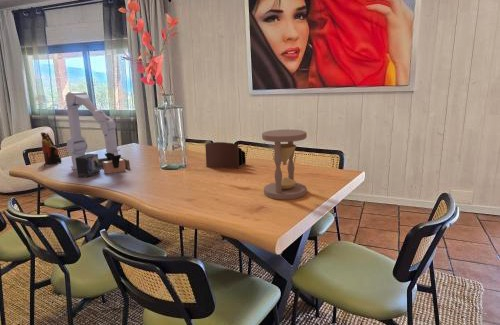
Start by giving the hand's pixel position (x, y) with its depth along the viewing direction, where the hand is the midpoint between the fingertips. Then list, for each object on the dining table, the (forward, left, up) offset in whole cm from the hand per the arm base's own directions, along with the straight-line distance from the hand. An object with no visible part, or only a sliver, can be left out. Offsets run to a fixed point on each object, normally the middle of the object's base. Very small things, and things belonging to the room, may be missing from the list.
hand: (114, 166), depth 188 cm
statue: (-53, -23, -3) cm, 58 cm away
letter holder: (+35, +50, -3) cm, 61 cm away
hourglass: (+92, +41, -3) cm, 101 cm away
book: (0, 0, -3) cm, 3 cm away
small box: (-3, -13, -3) cm, 13 cm away
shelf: (-8, 0, -3) cm, 8 cm away
